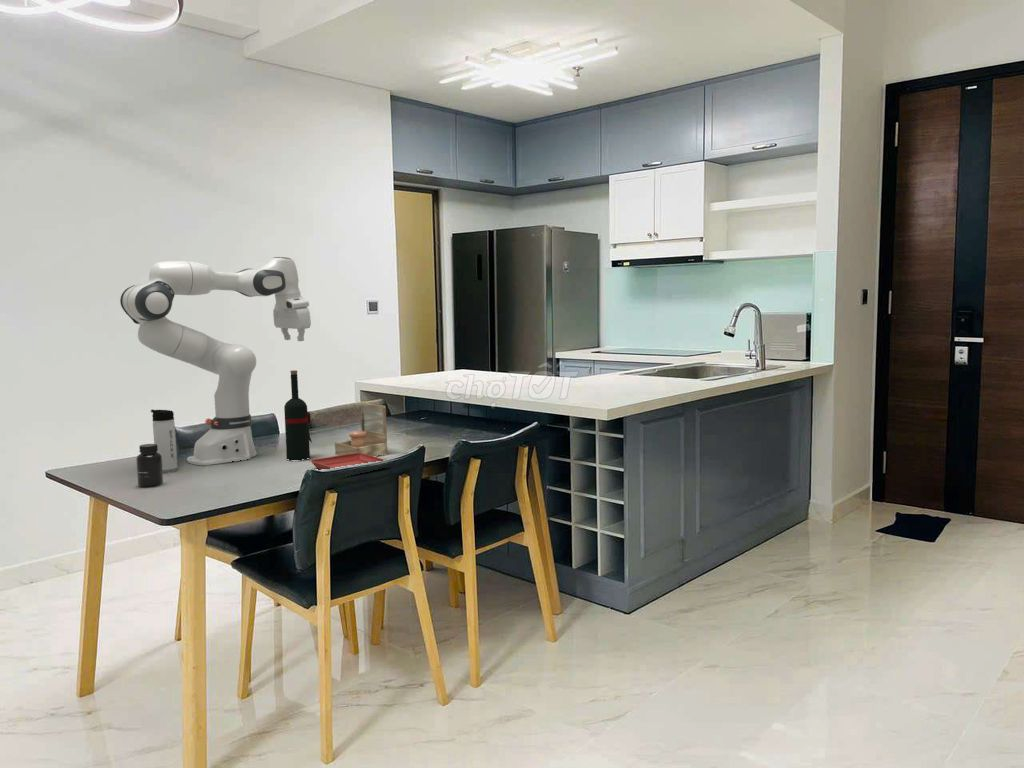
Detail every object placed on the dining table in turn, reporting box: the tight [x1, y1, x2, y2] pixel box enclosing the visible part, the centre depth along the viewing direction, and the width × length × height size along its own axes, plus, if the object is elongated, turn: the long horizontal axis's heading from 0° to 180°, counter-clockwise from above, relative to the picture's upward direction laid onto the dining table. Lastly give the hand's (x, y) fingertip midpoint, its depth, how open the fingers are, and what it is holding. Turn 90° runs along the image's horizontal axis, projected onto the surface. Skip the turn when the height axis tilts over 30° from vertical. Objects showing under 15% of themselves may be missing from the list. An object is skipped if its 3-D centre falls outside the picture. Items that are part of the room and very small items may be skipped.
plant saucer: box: [310, 453, 385, 470], centre depth 243 cm, size 18×18×3 cm
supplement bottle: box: [136, 443, 164, 488], centre depth 226 cm, size 7×7×12 cm
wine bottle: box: [284, 370, 313, 460], centre depth 259 cm, size 8×10×30 cm
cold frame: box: [334, 402, 388, 457], centre depth 264 cm, size 12×14×17 cm
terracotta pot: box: [349, 430, 367, 448], centre depth 263 cm, size 6×6×8 cm
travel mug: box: [150, 409, 179, 474], centre depth 243 cm, size 6×7×20 cm
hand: (294, 340), depth 277 cm, fingers open, 8 cm apart
